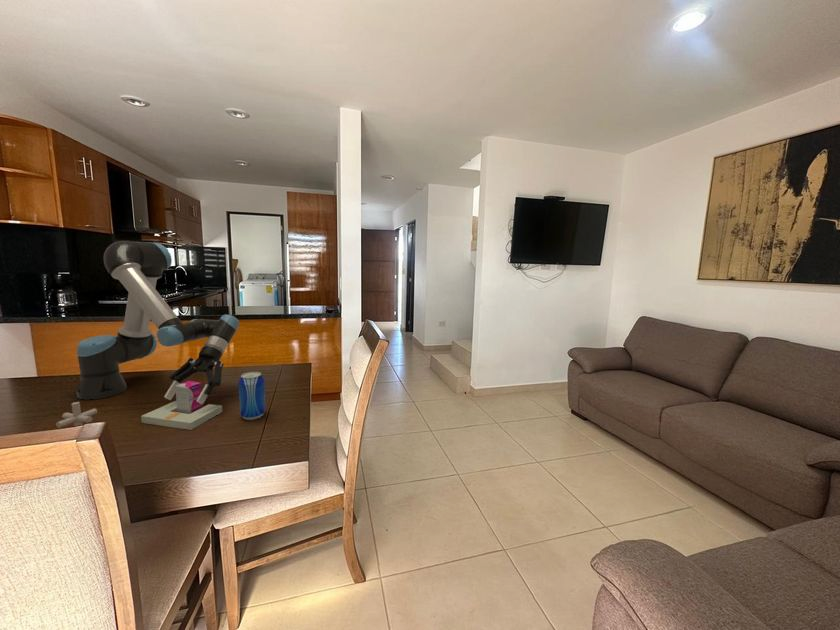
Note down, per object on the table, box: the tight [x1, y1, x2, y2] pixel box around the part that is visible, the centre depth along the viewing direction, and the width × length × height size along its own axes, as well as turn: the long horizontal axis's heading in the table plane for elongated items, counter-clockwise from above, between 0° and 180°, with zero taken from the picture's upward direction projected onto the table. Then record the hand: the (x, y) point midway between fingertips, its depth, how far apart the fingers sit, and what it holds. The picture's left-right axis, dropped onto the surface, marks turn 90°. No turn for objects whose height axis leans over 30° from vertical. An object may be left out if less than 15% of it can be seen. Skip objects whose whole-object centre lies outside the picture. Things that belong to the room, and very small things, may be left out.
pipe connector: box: [55, 401, 98, 429], centre depth 108 cm, size 10×10×10 cm
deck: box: [140, 400, 223, 431], centre depth 121 cm, size 14×20×3 cm
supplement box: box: [175, 380, 203, 414], centre depth 123 cm, size 6×6×12 cm
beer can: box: [238, 371, 266, 421], centre depth 123 cm, size 8×8×16 cm
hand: (183, 400), depth 121 cm, fingers open, 13 cm apart
